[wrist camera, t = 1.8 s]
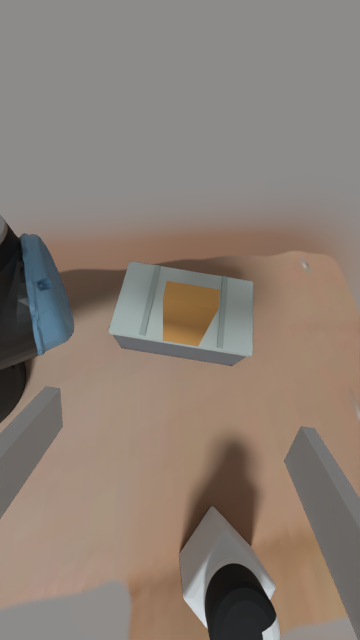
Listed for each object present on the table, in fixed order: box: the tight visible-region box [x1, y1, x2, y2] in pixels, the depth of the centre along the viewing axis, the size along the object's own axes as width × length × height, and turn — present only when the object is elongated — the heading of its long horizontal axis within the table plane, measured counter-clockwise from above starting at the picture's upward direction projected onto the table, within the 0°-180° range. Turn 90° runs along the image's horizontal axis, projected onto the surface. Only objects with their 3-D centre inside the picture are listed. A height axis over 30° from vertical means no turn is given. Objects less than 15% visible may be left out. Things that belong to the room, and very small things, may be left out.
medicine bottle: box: [179, 506, 280, 640], centre depth 23 cm, size 7×7×12 cm
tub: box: [113, 335, 246, 366], centre depth 37 cm, size 20×12×8 cm, turn 82°
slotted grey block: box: [109, 261, 253, 357], centre depth 28 cm, size 20×12×14 cm, turn 82°
